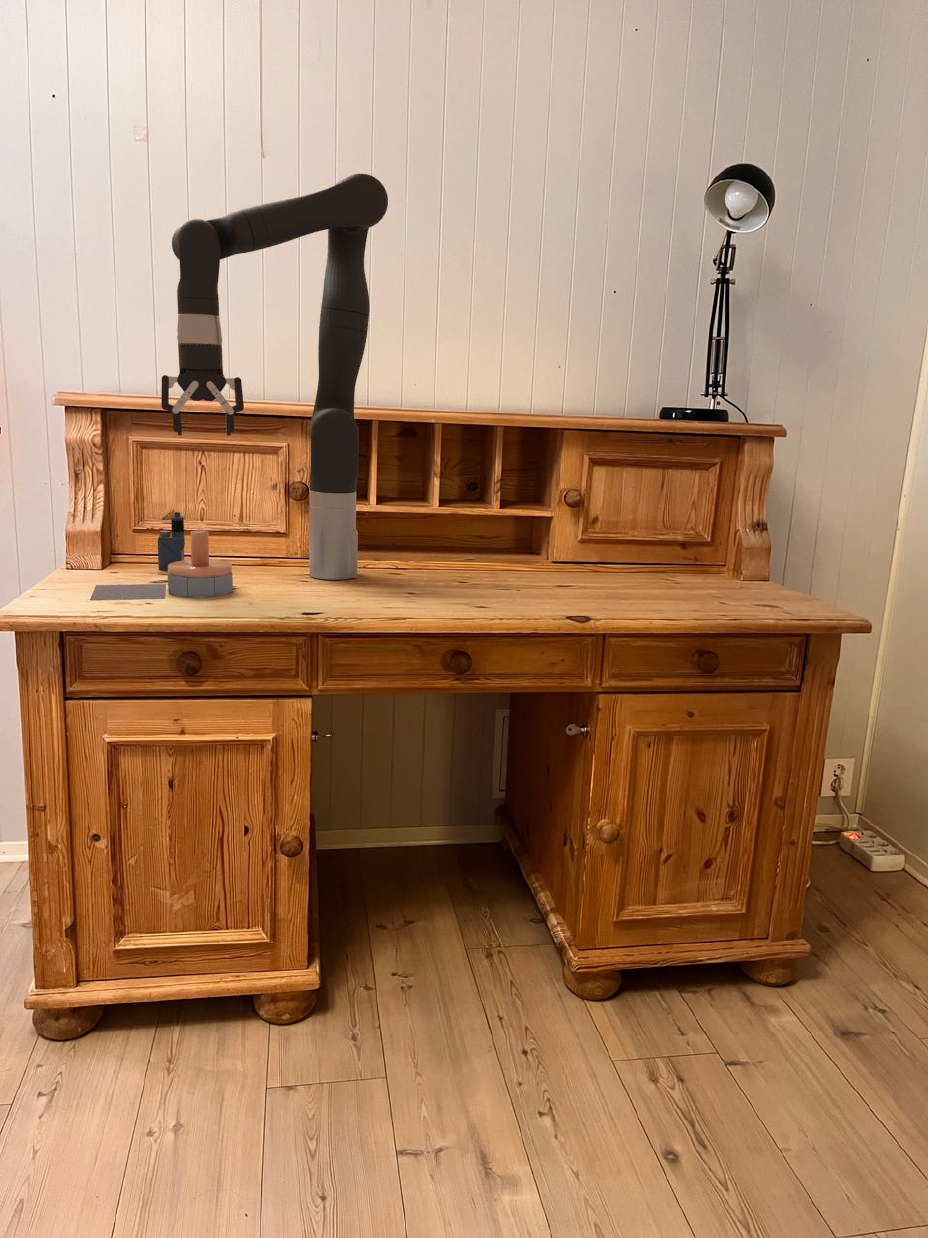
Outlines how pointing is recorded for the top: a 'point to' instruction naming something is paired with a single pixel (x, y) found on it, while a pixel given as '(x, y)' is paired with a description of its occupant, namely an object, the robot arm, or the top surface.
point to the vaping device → (171, 543)
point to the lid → (199, 561)
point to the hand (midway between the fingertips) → (204, 435)
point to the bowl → (200, 586)
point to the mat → (129, 592)
